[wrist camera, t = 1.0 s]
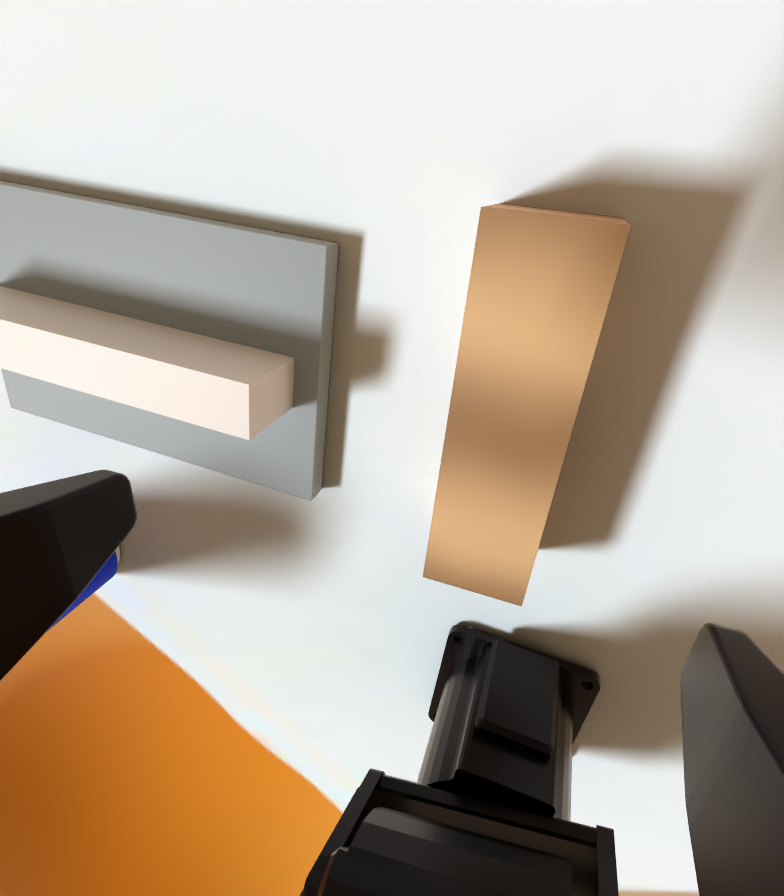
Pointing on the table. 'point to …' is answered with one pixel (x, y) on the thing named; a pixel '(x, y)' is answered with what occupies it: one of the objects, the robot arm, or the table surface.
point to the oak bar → (518, 389)
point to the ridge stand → (169, 332)
